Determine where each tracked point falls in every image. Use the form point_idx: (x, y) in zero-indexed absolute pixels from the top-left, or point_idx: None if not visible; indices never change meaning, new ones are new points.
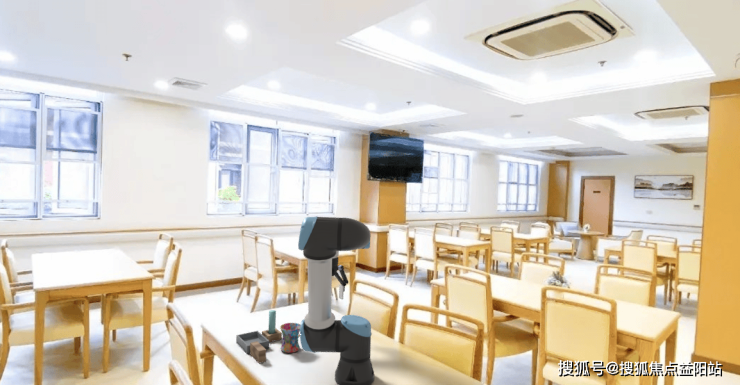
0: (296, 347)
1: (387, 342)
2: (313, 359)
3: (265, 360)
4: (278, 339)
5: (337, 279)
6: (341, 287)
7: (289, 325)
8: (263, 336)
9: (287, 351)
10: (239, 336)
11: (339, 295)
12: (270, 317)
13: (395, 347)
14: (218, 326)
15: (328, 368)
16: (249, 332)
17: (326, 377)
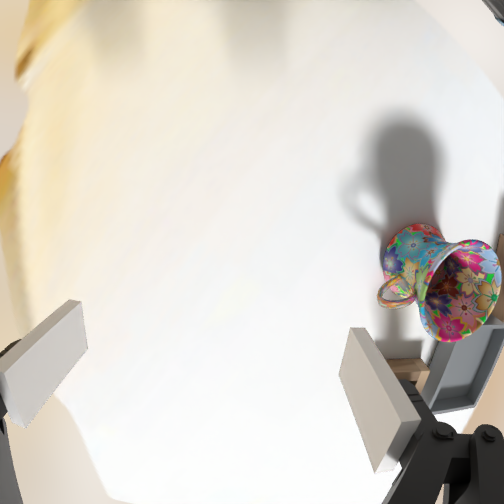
0: (418, 231)
1: (56, 78)
2: (397, 129)
3: (502, 234)
4: (386, 360)
5: (18, 488)
6: (21, 378)
7: (438, 328)
8: (447, 367)
9: (443, 237)
10: (468, 402)
11: (75, 355)
12: None
13: (70, 29)
14: None
15: (390, 40)
16: (445, 412)
17: (422, 12)
